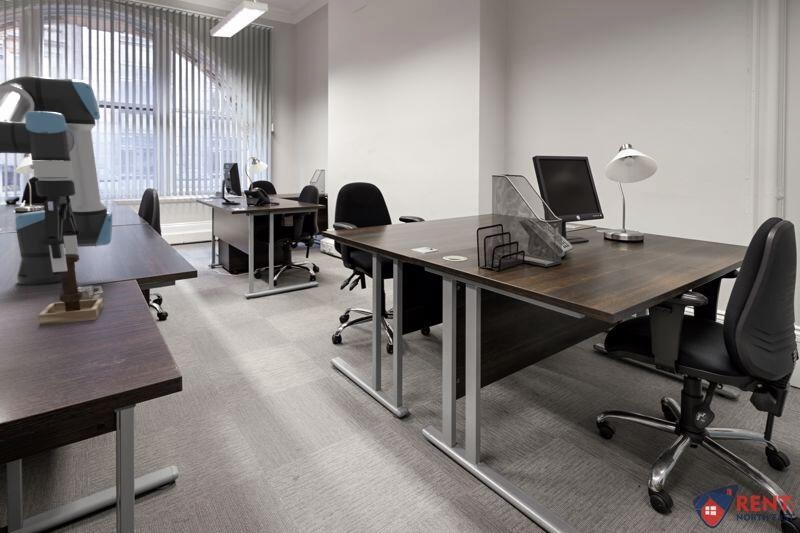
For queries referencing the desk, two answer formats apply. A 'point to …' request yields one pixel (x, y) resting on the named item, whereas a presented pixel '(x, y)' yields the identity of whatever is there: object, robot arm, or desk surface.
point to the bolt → (70, 285)
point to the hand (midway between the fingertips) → (67, 265)
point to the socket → (72, 312)
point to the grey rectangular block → (86, 292)
